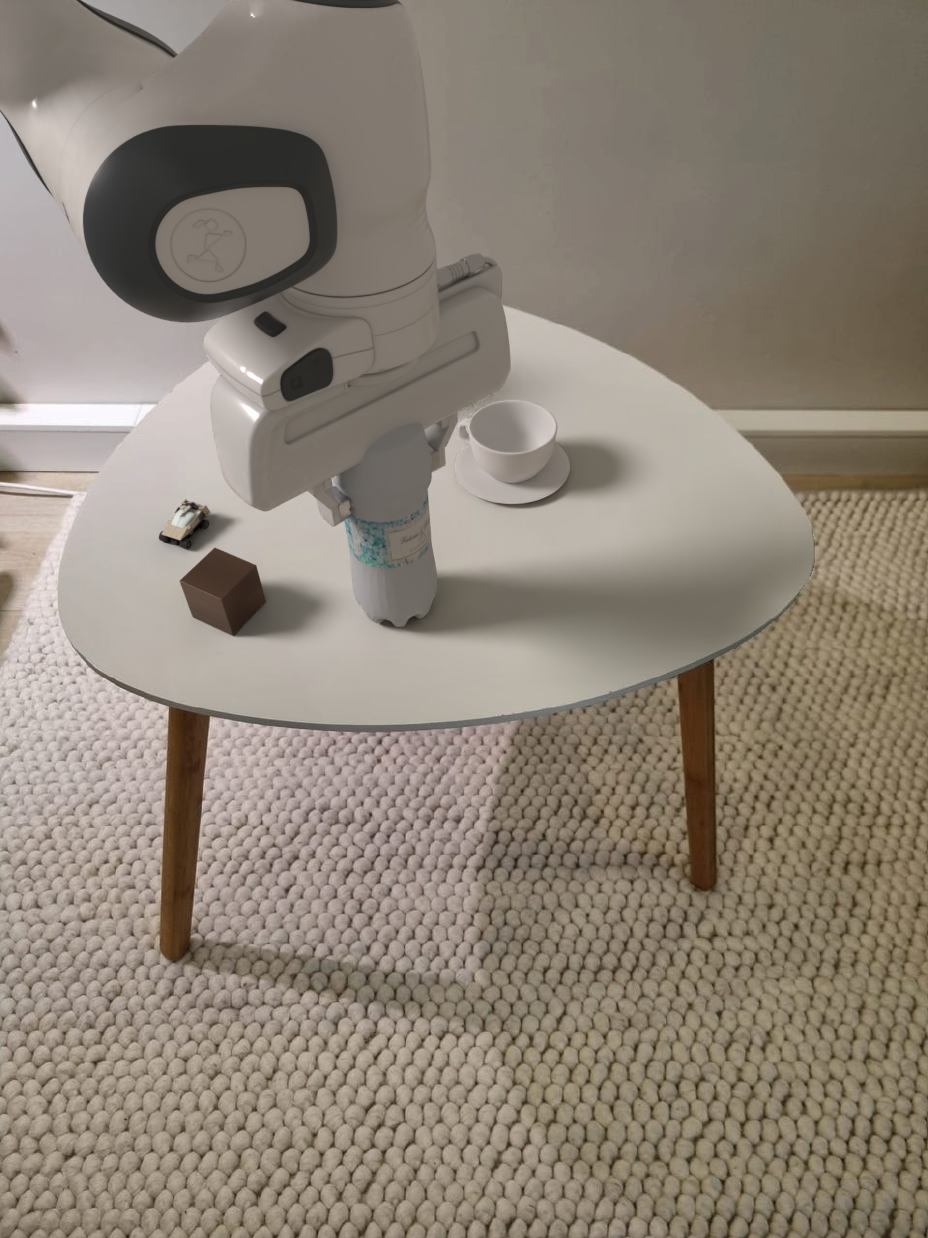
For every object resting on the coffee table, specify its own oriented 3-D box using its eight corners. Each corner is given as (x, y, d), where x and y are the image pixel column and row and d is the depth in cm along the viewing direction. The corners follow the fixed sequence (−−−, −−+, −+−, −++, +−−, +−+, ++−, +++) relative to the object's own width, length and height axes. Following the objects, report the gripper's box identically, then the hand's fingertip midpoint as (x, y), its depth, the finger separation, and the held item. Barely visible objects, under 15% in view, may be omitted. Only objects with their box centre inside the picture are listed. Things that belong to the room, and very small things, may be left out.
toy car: (160, 542, 78) (153, 524, 76) (189, 511, 80) (183, 493, 79) (187, 551, 77) (180, 532, 75) (215, 519, 79) (209, 501, 78)
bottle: (403, 651, 69) (376, 426, 54) (335, 611, 72) (291, 387, 57) (459, 596, 73) (448, 371, 58) (392, 560, 75) (365, 336, 61)
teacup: (587, 452, 84) (590, 408, 80) (540, 521, 78) (542, 477, 74) (485, 423, 87) (484, 379, 83) (433, 487, 81) (430, 443, 78)
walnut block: (233, 636, 71) (221, 600, 68) (192, 617, 72) (178, 580, 69) (266, 601, 73) (256, 565, 70) (226, 583, 74) (214, 546, 71)
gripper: (466, 225, 60) (471, 408, 70) (175, 348, 51) (230, 535, 62) (534, 261, 56) (529, 448, 67) (235, 399, 48) (282, 589, 58)
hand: (383, 491), depth 64 cm, fingers closed on bottle, 6 cm apart
